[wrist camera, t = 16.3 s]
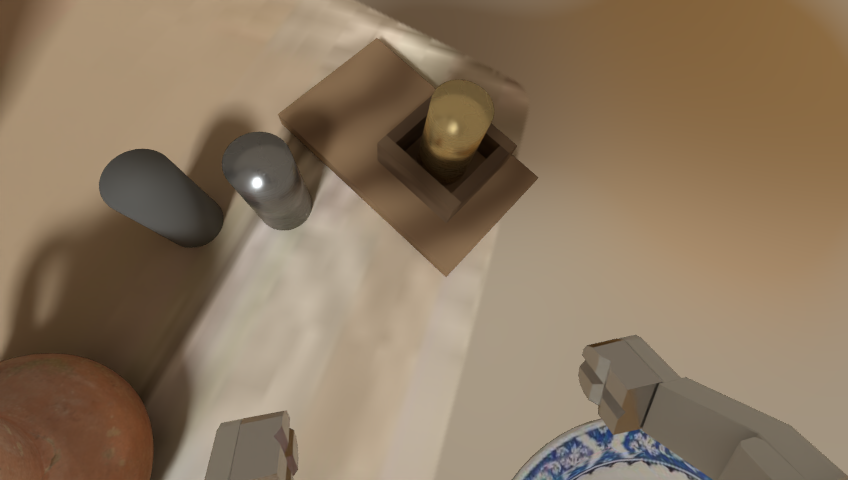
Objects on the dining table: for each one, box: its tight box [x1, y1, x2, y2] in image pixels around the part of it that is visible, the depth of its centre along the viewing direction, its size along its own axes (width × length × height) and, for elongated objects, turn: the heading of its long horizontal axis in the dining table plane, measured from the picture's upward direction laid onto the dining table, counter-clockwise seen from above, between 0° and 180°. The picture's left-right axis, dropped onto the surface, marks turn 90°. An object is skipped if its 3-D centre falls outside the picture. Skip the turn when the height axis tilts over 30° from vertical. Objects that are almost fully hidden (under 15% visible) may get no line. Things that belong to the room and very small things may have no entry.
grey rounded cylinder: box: [99, 149, 223, 248], centre depth 29 cm, size 4×4×8 cm
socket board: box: [278, 38, 538, 277], centre depth 34 cm, size 20×12×4 cm, turn 47°
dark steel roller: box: [222, 132, 312, 230], centre depth 30 cm, size 4×4×8 cm
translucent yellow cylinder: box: [417, 80, 494, 185], centre depth 31 cm, size 4×4×8 cm
